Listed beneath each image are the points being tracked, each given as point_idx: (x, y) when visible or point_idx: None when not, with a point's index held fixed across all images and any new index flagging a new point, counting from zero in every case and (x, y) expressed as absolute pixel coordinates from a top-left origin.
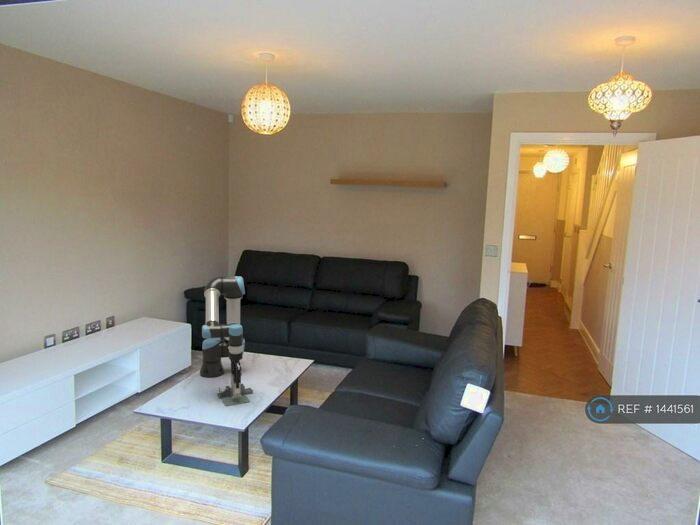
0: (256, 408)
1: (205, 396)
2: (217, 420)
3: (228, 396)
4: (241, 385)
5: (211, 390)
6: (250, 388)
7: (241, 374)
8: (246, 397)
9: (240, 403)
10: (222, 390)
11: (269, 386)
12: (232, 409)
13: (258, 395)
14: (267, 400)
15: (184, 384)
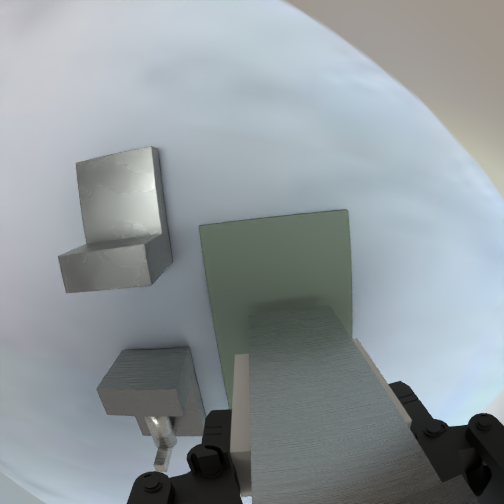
0: (456, 187)
1: (146, 467)
2: (472, 416)
3: (192, 371)
4: (105, 276)
5: (63, 424)
6: (90, 165)
7: (468, 490)
8: (252, 227)
9: (351, 295)
10: (163, 433)
11: (72, 15)
12: (407, 354)
13: (216, 106)
14: (347, 61)
15: (16, 478)
